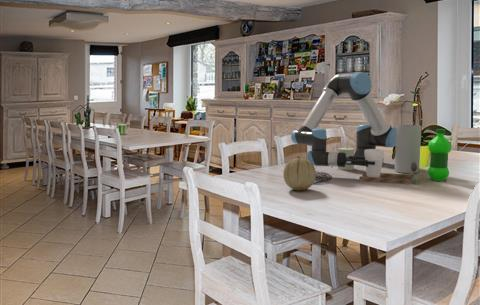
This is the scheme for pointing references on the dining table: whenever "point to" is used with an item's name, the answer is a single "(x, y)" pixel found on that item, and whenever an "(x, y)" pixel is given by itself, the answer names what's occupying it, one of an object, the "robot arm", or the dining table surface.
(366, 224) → the dining table surface
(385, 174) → the wooden tray
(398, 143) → the cylinder vase
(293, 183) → the cantaloupe
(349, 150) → the can
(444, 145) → the plastic bottle
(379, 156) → the foam cup
